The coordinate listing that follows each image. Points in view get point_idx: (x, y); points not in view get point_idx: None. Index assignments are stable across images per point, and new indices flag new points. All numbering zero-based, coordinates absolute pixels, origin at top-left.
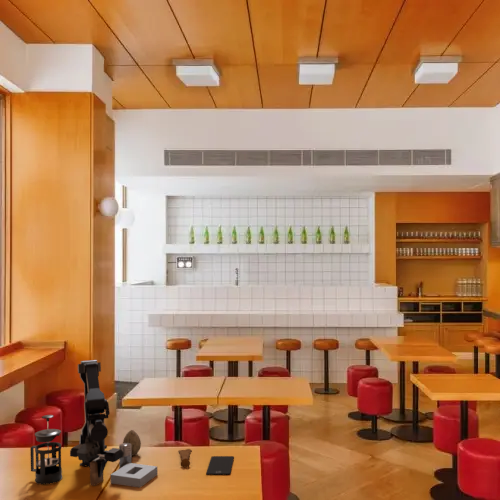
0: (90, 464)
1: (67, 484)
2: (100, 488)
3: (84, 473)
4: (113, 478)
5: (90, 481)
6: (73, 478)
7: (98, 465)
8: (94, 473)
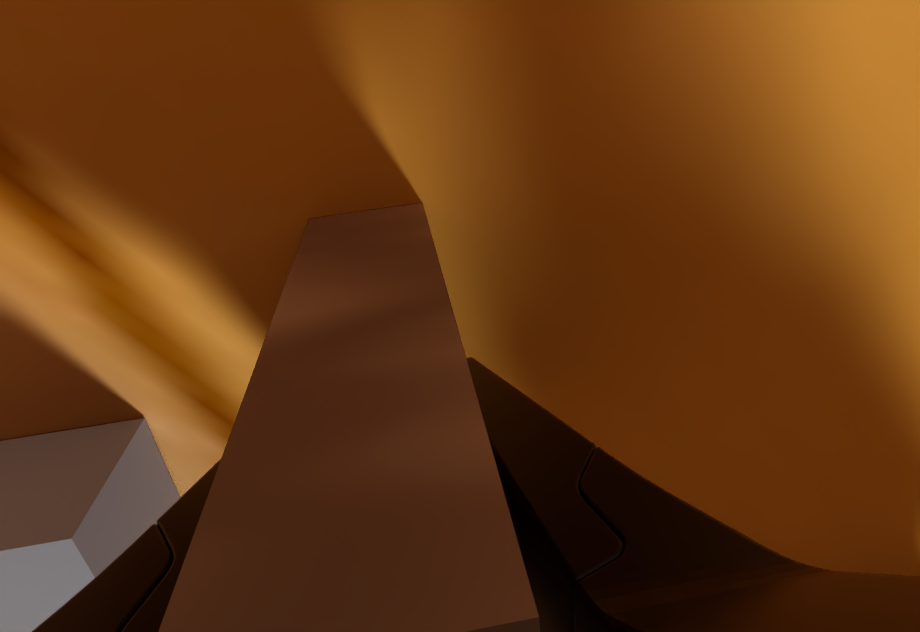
0: (473, 509)
1: (873, 21)
2: (89, 160)
3: (795, 474)
4: (32, 495)
5: (424, 226)
6: (877, 284)
7: (152, 629)
8: (288, 331)
